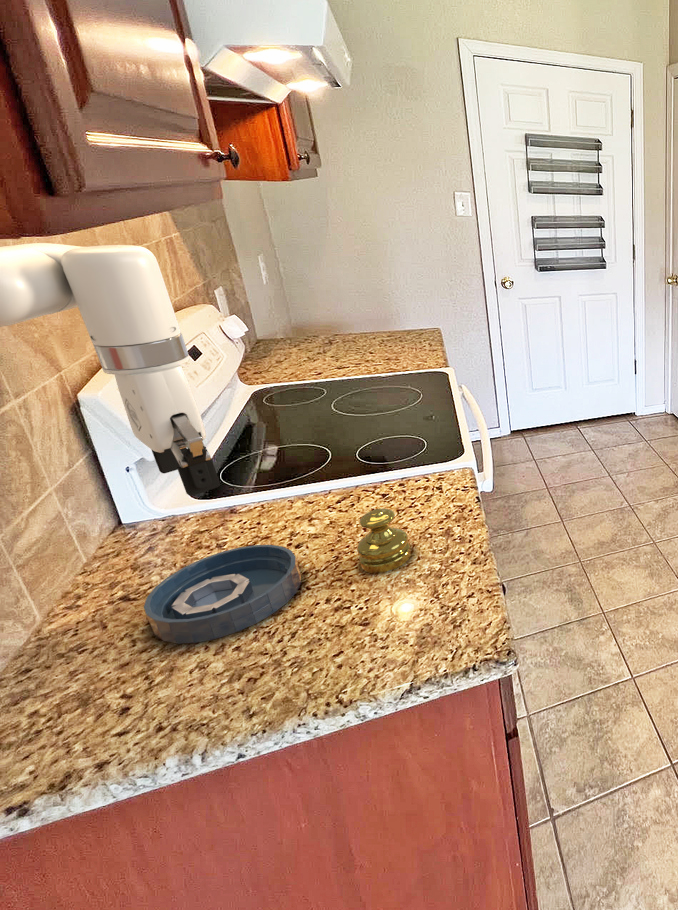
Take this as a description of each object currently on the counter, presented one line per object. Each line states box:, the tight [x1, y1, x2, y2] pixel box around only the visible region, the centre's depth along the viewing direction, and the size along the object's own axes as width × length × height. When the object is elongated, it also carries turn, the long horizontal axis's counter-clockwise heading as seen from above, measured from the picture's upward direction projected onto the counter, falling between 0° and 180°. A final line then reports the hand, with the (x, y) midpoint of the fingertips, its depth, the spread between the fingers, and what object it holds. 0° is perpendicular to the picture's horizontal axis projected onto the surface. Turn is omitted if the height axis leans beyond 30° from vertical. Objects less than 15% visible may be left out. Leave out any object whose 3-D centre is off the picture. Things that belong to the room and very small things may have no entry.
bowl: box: [143, 544, 302, 645], centre depth 85 cm, size 17×17×4 cm
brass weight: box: [356, 508, 412, 574], centre depth 94 cm, size 7×7×10 cm
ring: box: [172, 574, 253, 619], centre depth 85 cm, size 8×8×2 cm
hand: (190, 479), depth 74 cm, fingers open, 9 cm apart
